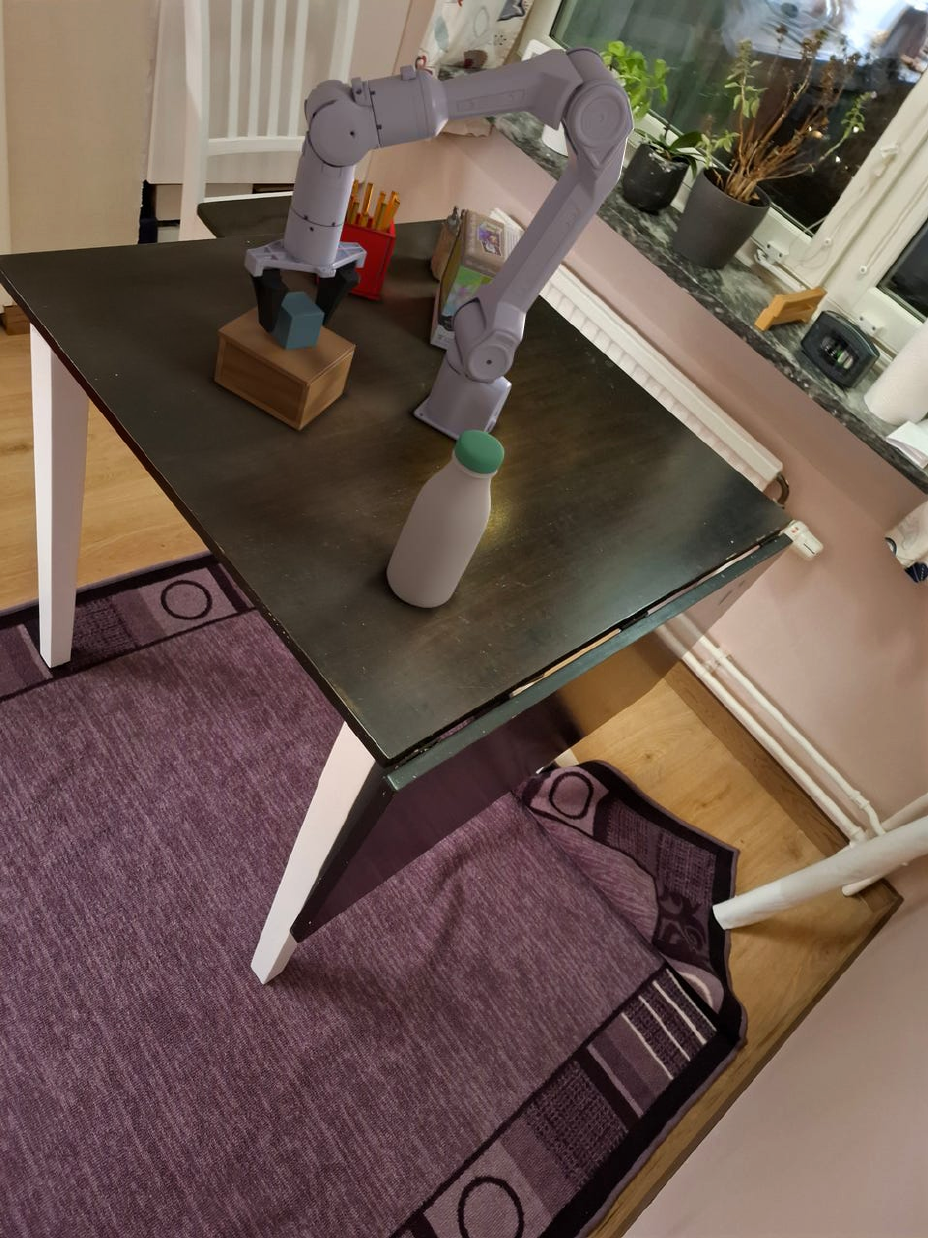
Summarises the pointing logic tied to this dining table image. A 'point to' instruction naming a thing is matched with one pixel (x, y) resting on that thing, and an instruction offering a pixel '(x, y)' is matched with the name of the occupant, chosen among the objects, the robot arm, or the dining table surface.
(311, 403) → the box
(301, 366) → the box lid
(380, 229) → the french fries container
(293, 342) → the block
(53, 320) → the dining table surface
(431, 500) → the milk bottle
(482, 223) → the tea box
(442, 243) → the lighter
